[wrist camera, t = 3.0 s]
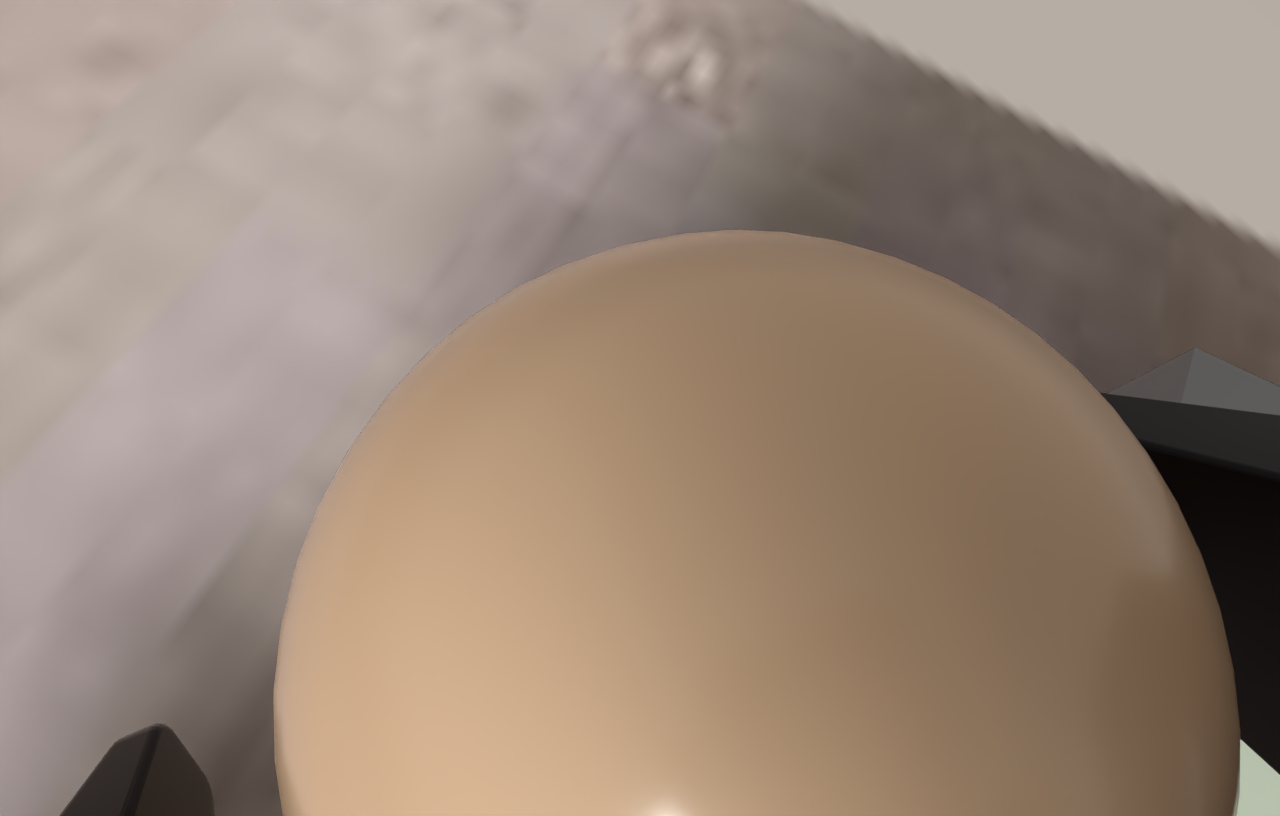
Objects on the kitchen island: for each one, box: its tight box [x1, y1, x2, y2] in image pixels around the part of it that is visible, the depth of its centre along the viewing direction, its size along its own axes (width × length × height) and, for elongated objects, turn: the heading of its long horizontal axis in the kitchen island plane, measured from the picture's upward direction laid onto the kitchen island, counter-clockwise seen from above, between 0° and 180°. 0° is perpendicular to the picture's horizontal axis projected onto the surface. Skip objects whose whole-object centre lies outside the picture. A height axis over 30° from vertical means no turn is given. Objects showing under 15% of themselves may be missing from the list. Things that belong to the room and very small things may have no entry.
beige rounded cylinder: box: [273, 230, 1240, 816], centre depth 9 cm, size 5×5×14 cm
